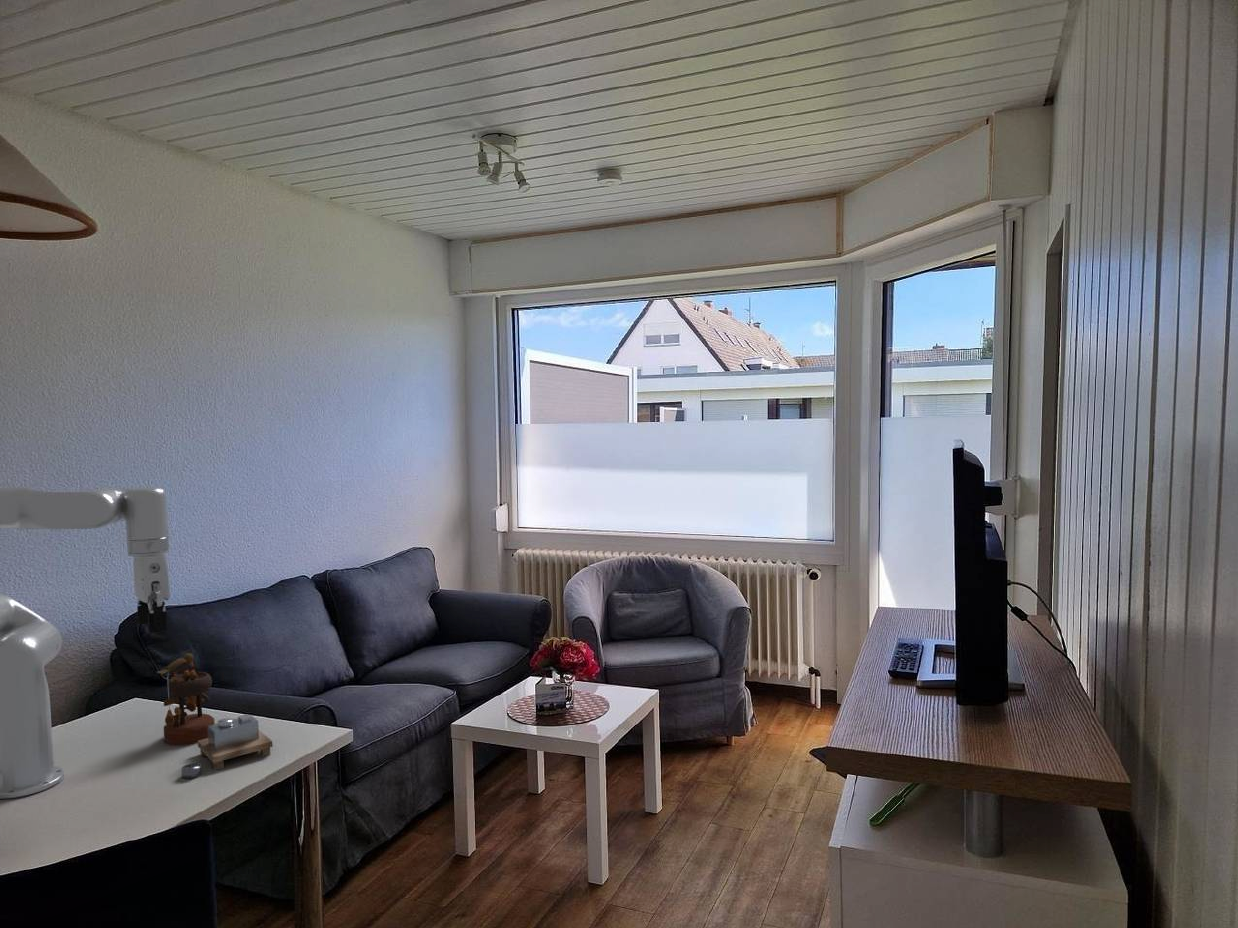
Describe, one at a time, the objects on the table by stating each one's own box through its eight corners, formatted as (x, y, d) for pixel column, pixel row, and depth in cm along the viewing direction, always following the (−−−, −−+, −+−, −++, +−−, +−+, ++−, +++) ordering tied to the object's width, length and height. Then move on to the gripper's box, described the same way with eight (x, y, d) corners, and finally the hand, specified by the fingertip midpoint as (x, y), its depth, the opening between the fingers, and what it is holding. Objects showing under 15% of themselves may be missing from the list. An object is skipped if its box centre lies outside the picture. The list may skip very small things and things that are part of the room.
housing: (259, 738, 178) (258, 716, 178) (215, 750, 172) (214, 727, 172) (251, 732, 182) (250, 710, 182) (208, 743, 176) (207, 721, 176)
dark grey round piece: (184, 781, 164) (183, 772, 164) (179, 776, 167) (179, 766, 167) (203, 776, 167) (203, 767, 167) (198, 770, 169) (198, 761, 169)
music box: (191, 749, 180) (179, 661, 179) (148, 750, 182) (137, 663, 182) (235, 723, 195) (225, 642, 194) (195, 724, 197) (185, 644, 196)
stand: (213, 771, 169) (213, 757, 169) (198, 753, 178) (197, 740, 178) (272, 754, 177) (272, 741, 177) (254, 738, 186) (254, 726, 186)
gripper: (178, 548, 164) (182, 631, 165) (158, 540, 177) (162, 616, 178) (136, 553, 159) (141, 638, 160) (118, 544, 172) (123, 623, 173)
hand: (152, 627), depth 169 cm, fingers open, 9 cm apart
